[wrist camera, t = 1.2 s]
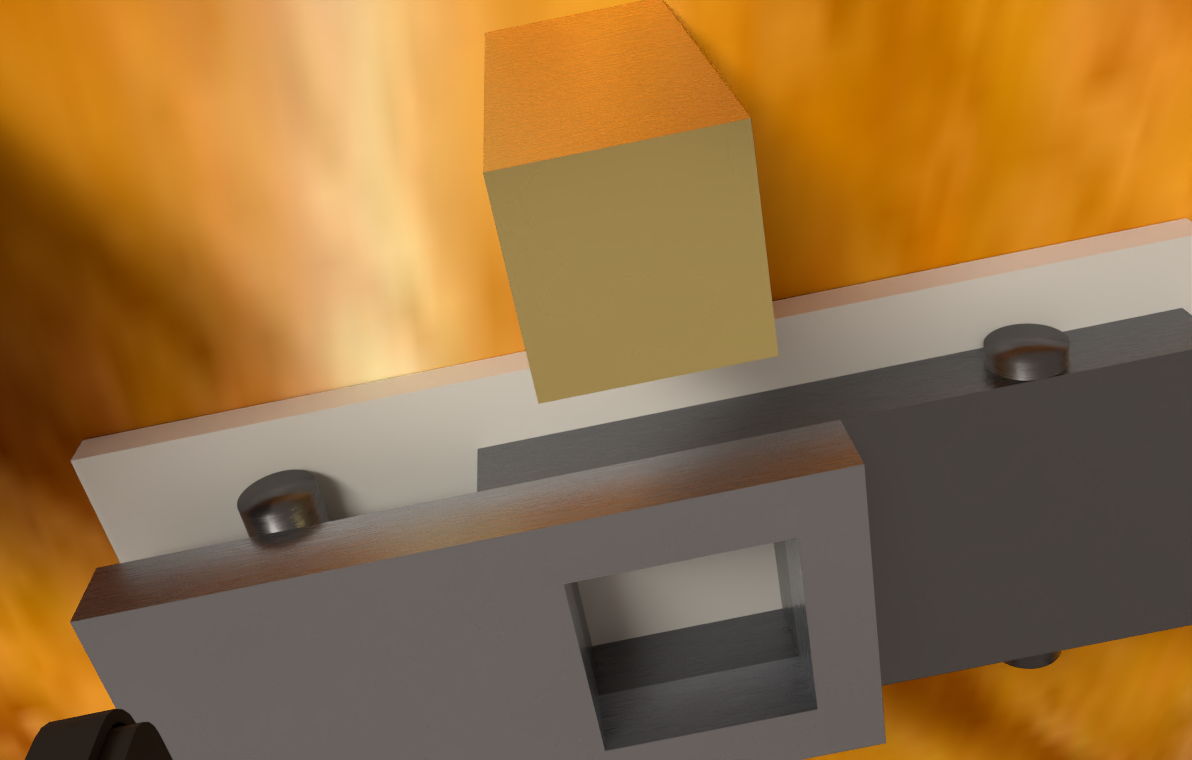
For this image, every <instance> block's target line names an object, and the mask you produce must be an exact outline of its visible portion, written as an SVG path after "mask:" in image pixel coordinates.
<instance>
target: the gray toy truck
mask: <svg viewBox="0 0 1192 760" xmlns="http://www.w3.org/2000/svg"><path fill="white" fill-rule="evenodd" d="M983 346H984V348H979V349H974V350H969V351H964V352H959V353H954V354H949V355H944V356H939V357H934V358H929V359H924V360H919V361H914V362H909V363H904V364H899V365H894V366H889V367H884V368H879V369H874V370H869V371H864V372H859V373H854V374H849V375H844V376H839V377H834V378H829V379H824V380H819V381H814V382H809V383H804V384H799V385H794V386H789V387H784V388H779V389H774V390H769V391H764V392H759V393H754V394H749V395H744V396H739V397H734V398H729V399H724V400H719V401H714V402H709V403H704V404H699V405H694V406H689V407H684V408H679V409H674V410H669V411H664V412H659V413H654V414H649V415H644V416H639V417H634V418H629V419H624V420H619V421H614V422H609V423H604V424H599V425H594V426H589V427H584V428H579V429H574V430H569V431H564V432H559V433H554V434H549V435H544V436H539V437H534V438H529V439H524V440H519V441H514V442H509V443H504V444H499V445H494V446H489V447H484V448H479V449H478V452H477V492H475V493H470V494H465V495H460V496H455V497H450V498H445V499H440V500H435V501H430V502H425V503H420V504H415V505H410V506H405V507H400V508H395V509H390V510H385V511H380V512H375V513H370V514H365V515H360V516H355V517H350V518H345V519H340V520H335V521H331V520H330V517H329V514H328V511H327V509H326V506H325V503H324V500H323V498H322V495H321V492H320V489H319V487H318V484H317V481H316V479H315V476H314V475H313V474H312V473H310V472H308V471H305V470H297V469H296V470H285V471H280V472H276V473H273V474H270V475H268V476H265V477H263V478H261V479H259V480H257V481H256V482H254V483H253V484H251V485H250V486H249V487H247V488H246V489H245V490H244V491H243V492H242V494H241V495H240V496H239V498H238V501H237V508H238V511H239V513H240V516H241V518H242V521H243V523H244V526H245V528H246V530H247V533H248V535H249V538H245V539H240V540H235V541H230V542H225V543H220V544H215V545H210V546H205V547H200V548H195V549H190V550H185V551H180V552H175V553H170V554H165V555H160V556H155V557H150V558H145V559H140V560H135V561H130V562H125V563H120V564H115V565H110V566H105V567H100V568H96V570H95V572H94V575H93V577H92V579H91V581H90V583H89V585H88V587H87V589H86V591H85V593H84V595H83V597H82V599H81V601H80V603H79V605H78V607H77V609H76V611H75V613H74V615H73V617H72V619H71V621H70V623H71V625H72V627H73V628H74V630H75V632H76V634H77V636H78V638H79V640H80V642H81V643H82V645H83V647H84V649H85V651H86V653H87V655H88V657H89V658H90V660H91V662H92V664H93V666H94V668H95V670H96V672H97V674H98V675H99V677H100V679H101V681H102V683H103V685H104V687H105V689H106V690H107V692H108V694H109V696H110V698H111V700H112V702H113V704H114V705H115V707H116V709H123V710H125V711H126V712H128V713H129V714H130V715H131V716H132V718H133V719H134V721H135V722H136V723H140V722H150V723H151V724H153V725H154V726H155V728H156V729H157V730H158V732H159V734H160V736H161V738H162V739H163V741H164V743H165V745H166V747H167V749H168V751H169V753H170V755H171V757H172V759H173V760H802V759H807V758H812V757H817V756H822V755H827V754H832V753H837V752H843V751H848V750H853V749H858V748H863V747H868V746H873V745H878V744H883V743H886V736H885V724H884V711H883V698H882V686H883V685H888V684H893V683H898V682H903V681H908V680H913V679H918V678H923V677H929V676H934V675H939V674H944V673H949V672H954V671H959V670H964V669H969V668H974V667H979V666H985V665H990V664H995V663H1000V662H1004V663H1006V664H1008V665H1010V666H1014V667H1018V668H1024V669H1035V668H1041V667H1044V666H1047V665H1049V664H1051V663H1053V662H1054V661H1055V660H1056V659H1057V658H1058V657H1059V655H1060V653H1061V650H1066V649H1071V648H1076V647H1081V646H1086V645H1091V644H1096V643H1102V642H1107V641H1112V640H1117V639H1122V638H1127V637H1132V636H1137V635H1142V634H1147V633H1152V632H1157V631H1163V630H1168V629H1173V628H1178V627H1183V626H1188V625H1192V315H1191V314H1190V313H1188V312H1187V311H1186V310H1185V309H1183V308H1179V309H1174V310H1169V311H1164V312H1159V313H1154V314H1149V315H1144V316H1139V317H1134V318H1129V319H1124V320H1119V321H1114V322H1109V323H1104V324H1099V325H1094V326H1089V327H1084V328H1079V329H1074V330H1069V331H1064V332H1062V331H1060V330H1058V329H1056V328H1053V327H1050V326H1046V325H1041V324H1028V323H1025V324H1014V325H1008V326H1004V327H1001V328H998V329H996V330H994V331H992V332H991V333H989V334H988V335H987V336H986V338H985V339H984V343H983ZM769 543H774V549H775V556H776V564H777V572H778V579H779V587H780V595H781V602H782V609H777V610H772V611H767V612H762V613H757V614H752V615H747V616H742V617H737V618H732V619H727V620H722V621H717V622H712V623H707V624H701V625H696V626H691V627H686V628H681V629H676V630H671V631H666V632H661V633H656V634H651V635H646V636H641V637H636V638H631V639H626V640H621V641H615V642H610V643H605V644H600V645H595V646H592V642H591V637H590V633H589V629H588V625H587V621H586V617H585V613H584V608H583V604H582V600H581V596H580V592H579V588H578V584H577V582H578V581H583V580H588V579H593V578H598V577H603V576H608V575H613V574H618V573H623V572H628V571H633V570H638V569H643V568H648V567H653V566H658V565H663V564H669V563H674V562H679V561H684V560H689V559H694V558H699V557H704V556H709V555H714V554H719V553H724V552H729V551H734V550H739V549H744V548H749V547H754V546H759V545H764V544H769Z"/></svg>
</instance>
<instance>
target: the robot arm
mask: <svg viewBox="0 0 1192 760" xmlns="http://www.w3.org/2000/svg"><path fill="white" fill-rule="evenodd" d="M25 760H173V759H172V757H171V755H170V753H169V751H168V749H167V747H166V745H165V743H164V741H163V739H162V738H161V736H160V734H159V732H158V730H157V729H156V728H155V726H154V725H153V724H151V723H150V722H140V723H136V722H135V721H134V719H133V718H132V716H131V715H130V714H129V713H128V712H126V711H125V710H123V709H112V710H107V711H102V712H97V713H92V714H88V715H83V716H78V717H73V718H68V719H63V720H58V721H53V722H49V723H48V724H46V725H45V726H43V727H42V728H41V729H40V731H39V732H38V734H37V735H36V737H35V739H34V741H33V743H32V745H31V747H30V749H29V752H28V754H27V756H26V758H25Z"/></svg>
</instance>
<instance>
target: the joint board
mask: <svg viewBox="0 0 1192 760" xmlns="http://www.w3.org/2000/svg"><path fill="white" fill-rule="evenodd" d="M772 303H773V312H774V321H775V329H776V338H777V347H778V355H779V356H775V357H770V358H765V359H760V360H755V361H750V362H745V363H740V364H735V365H730V366H725V367H720V368H715V369H710V370H705V371H700V372H695V373H690V374H685V375H680V376H675V377H670V378H665V379H660V380H655V381H650V382H645V383H640V384H635V385H630V386H625V387H620V388H615V389H610V390H605V391H601V392H596V393H591V394H586V395H581V396H576V397H571V398H566V399H561V400H556V401H551V402H546V403H541V404H538V400H537V396H536V392H535V387H534V383H533V379H532V375H531V371H530V367H529V362H528V358H527V354H526V351H523V352H518V353H513V354H509V355H504V356H499V357H494V358H489V359H484V360H479V361H474V362H469V363H464V364H459V365H454V366H449V367H444V368H439V369H434V370H429V371H424V372H419V373H414V374H409V375H404V376H399V377H394V378H389V379H384V380H379V381H374V382H369V383H364V384H359V385H354V386H349V387H344V388H340V389H335V390H330V391H325V392H320V393H315V394H310V395H305V396H300V397H295V398H290V399H285V400H280V401H275V402H270V403H265V404H260V405H255V406H250V407H245V408H240V409H235V410H230V411H225V412H220V413H215V414H210V415H205V416H200V417H195V418H190V419H185V420H180V421H175V422H171V423H166V424H161V425H156V426H151V427H146V428H141V429H136V430H131V431H126V432H121V433H116V434H111V435H106V436H101V437H96V438H91V439H86V440H83V441H82V442H81V444H80V446H79V447H78V449H77V451H76V452H75V454H74V456H73V457H72V459H71V463H72V465H73V467H74V469H75V471H76V473H77V476H78V478H79V480H80V482H81V484H82V486H83V488H84V490H85V492H86V494H87V496H88V498H89V500H90V502H91V504H92V506H93V508H94V510H95V512H96V514H97V516H98V519H99V521H100V523H101V525H102V527H103V529H104V531H105V533H106V535H107V537H108V539H109V541H110V543H111V545H112V547H113V549H114V551H115V553H116V555H117V557H118V559H119V562H120V563H125V562H130V561H135V560H140V559H145V558H150V557H155V556H160V555H165V554H170V553H175V552H180V551H185V550H190V549H195V548H200V547H205V546H210V545H215V544H220V543H225V542H230V541H235V540H240V539H245V538H249V535H248V533H247V530H246V528H245V526H244V523H243V521H242V518H241V516H240V513H239V511H238V508H237V501H238V498H239V496H240V495H241V494H242V492H243V491H244V490H245V489H246V488H247V487H249V486H250V485H251V484H253V483H254V482H256V481H257V480H259V479H261V478H263V477H265V476H268V475H270V474H273V473H276V472H280V471H285V470H296V469H297V470H305V471H308V472H310V473H312V474H313V475H314V476H315V479H316V481H317V484H318V487H319V489H320V492H321V495H322V498H323V500H324V503H325V506H326V509H327V511H328V514H329V517H330V520H331V521H335V520H340V519H345V518H350V517H355V516H360V515H365V514H370V513H375V512H380V511H385V510H390V509H395V508H400V507H405V506H410V505H415V504H420V503H425V502H430V501H435V500H440V499H445V498H450V497H455V496H460V495H465V494H470V493H475V492H477V452H478V449H479V448H484V447H489V446H494V445H499V444H504V443H509V442H514V441H519V440H524V439H529V438H534V437H539V436H544V435H549V434H554V433H559V432H564V431H569V430H574V429H579V428H584V427H589V426H594V425H599V424H604V423H609V422H614V421H619V420H624V419H629V418H634V417H639V416H644V415H649V414H654V413H659V412H664V411H669V410H674V409H679V408H684V407H689V406H694V405H699V404H704V403H709V402H714V401H719V400H724V399H729V398H734V397H739V396H744V395H749V394H754V393H759V392H764V391H769V390H774V389H779V388H784V387H789V386H794V385H799V384H804V383H809V382H814V381H819V380H824V379H829V378H834V377H839V376H844V375H849V374H854V373H859V372H864V371H869V370H874V369H879V368H884V367H889V366H894V365H899V364H904V363H909V362H914V361H919V360H924V359H929V358H934V357H939V356H944V355H949V354H954V353H959V352H964V351H969V350H974V349H979V348H984V346H983V343H984V339H985V338H986V336H987V335H988V334H989V333H991V332H992V331H994V330H996V329H998V328H1001V327H1004V326H1008V325H1014V324H1025V323H1028V324H1041V325H1046V326H1050V327H1053V328H1056V329H1058V330H1060V331H1062V332H1064V331H1069V330H1074V329H1079V328H1084V327H1089V326H1094V325H1099V324H1104V323H1109V322H1114V321H1119V320H1124V319H1129V318H1134V317H1139V316H1144V315H1149V314H1154V313H1159V312H1164V311H1169V310H1174V309H1179V308H1183V309H1185V310H1186V311H1187V312H1188V313H1190V314H1191V315H1192V222H1191V221H1190V220H1188V219H1187V218H1184V219H1179V220H1175V221H1170V222H1165V223H1160V224H1155V225H1150V226H1145V227H1140V228H1135V229H1130V230H1125V231H1120V232H1115V233H1110V234H1105V235H1100V236H1095V237H1090V238H1085V239H1080V240H1075V241H1070V242H1065V243H1060V244H1055V245H1050V246H1045V247H1040V248H1035V249H1030V250H1025V251H1020V252H1015V253H1011V254H1006V255H1001V256H996V257H991V258H986V259H981V260H976V261H971V262H966V263H961V264H956V265H951V266H946V267H941V268H936V269H931V270H926V271H921V272H916V273H911V274H906V275H901V276H896V277H891V278H886V279H881V280H876V281H871V282H866V283H861V284H856V285H851V286H846V287H842V288H837V289H832V290H827V291H822V292H817V293H812V294H807V295H802V296H797V297H792V298H787V299H782V300H777V301H772ZM577 584H578V588H579V592H580V596H581V600H582V604H583V608H584V613H585V617H586V621H587V625H588V629H589V633H590V637H591V642H592V646H595V645H600V644H605V643H610V642H615V641H621V640H626V639H631V638H636V637H641V636H646V635H651V634H656V633H661V632H666V631H671V630H676V629H681V628H686V627H691V626H696V625H701V624H707V623H712V622H717V621H722V620H727V619H732V618H737V617H742V616H747V615H752V614H757V613H762V612H767V611H772V610H777V609H782V602H781V595H780V587H779V579H778V572H777V564H776V556H775V549H774V543H769V544H764V545H759V546H754V547H749V548H744V549H739V550H734V551H729V552H724V553H719V554H714V555H709V556H704V557H699V558H694V559H689V560H684V561H679V562H674V563H669V564H663V565H658V566H653V567H648V568H643V569H638V570H633V571H628V572H623V573H618V574H613V575H608V576H603V577H598V578H593V579H588V580H583V581H578V582H577Z"/></svg>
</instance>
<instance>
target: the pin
mask: <svg viewBox="0 0 1192 760" xmlns="http://www.w3.org/2000/svg"><path fill="white" fill-rule="evenodd" d="M483 174H484V179H485V183H486V187H487V191H488V195H489V199H490V204H491V208H492V212H493V216H494V220H495V225H496V229H497V233H498V237H499V241H500V245H501V250H502V254H503V258H504V262H505V266H506V270H507V275H508V279H509V283H510V287H511V291H512V296H513V300H514V304H515V308H516V312H517V316H518V321H519V325H520V329H521V333H522V337H523V342H524V346H525V350H526V354H527V358H528V362H529V367H530V371H531V375H532V379H533V383H534V387H535V392H536V396H537V400H538V404H541V403H546V402H551V401H556V400H561V399H566V398H571V397H576V396H581V395H586V394H591V393H596V392H601V391H605V390H610V389H615V388H620V387H625V386H630V385H635V384H640V383H645V382H650V381H655V380H660V379H665V378H670V377H675V376H680V375H685V374H690V373H695V372H700V371H705V370H710V369H715V368H720V367H725V366H730V365H735V364H740V363H745V362H750V361H755V360H760V359H765V358H770V357H775V356H779V355H778V347H777V338H776V329H775V321H774V312H773V303H772V295H771V286H770V278H769V269H768V260H767V252H766V243H765V234H764V226H763V217H762V209H761V200H760V191H759V183H758V174H757V165H756V157H755V148H754V140H753V131H752V122H751V117H750V116H749V115H748V113H747V112H746V111H745V109H744V108H743V107H742V105H741V104H740V103H739V101H738V100H737V99H736V97H735V96H734V95H733V94H732V92H731V91H730V90H729V88H728V87H727V86H726V84H725V83H724V82H723V80H722V79H721V78H720V76H719V75H718V74H717V72H716V71H715V70H714V68H713V67H712V66H711V64H710V63H709V62H708V60H707V59H706V58H705V56H704V55H703V54H702V52H701V51H700V50H699V48H698V47H697V46H696V44H695V43H694V42H693V40H692V39H691V38H690V36H689V35H688V34H687V32H686V31H685V30H684V28H683V27H682V26H681V24H680V23H679V22H678V20H677V19H676V18H675V16H674V15H673V14H672V12H671V11H670V10H669V8H668V7H667V6H666V4H665V3H664V2H663V0H643V1H639V2H634V3H629V4H624V5H619V6H614V7H609V8H604V9H600V10H595V11H590V12H585V13H580V14H575V15H570V16H565V17H560V18H556V19H551V20H546V21H541V22H536V23H531V24H526V25H521V26H517V27H512V28H507V29H502V30H497V31H492V32H487V33H485V70H484V142H483Z"/></svg>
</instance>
